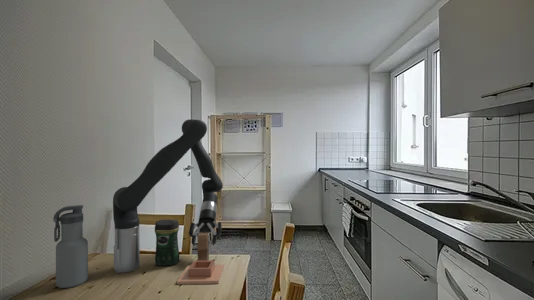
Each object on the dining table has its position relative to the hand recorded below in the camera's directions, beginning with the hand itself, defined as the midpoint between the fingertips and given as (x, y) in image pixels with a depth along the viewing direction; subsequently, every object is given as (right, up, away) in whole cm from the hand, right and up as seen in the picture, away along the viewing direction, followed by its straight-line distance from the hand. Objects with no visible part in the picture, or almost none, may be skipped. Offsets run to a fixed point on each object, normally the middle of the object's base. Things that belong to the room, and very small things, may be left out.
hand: (203, 244), depth 125 cm
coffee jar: (-15, -8, -2) cm, 17 cm away
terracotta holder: (+3, -7, -15) cm, 16 cm away
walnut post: (0, -7, -1) cm, 7 cm away
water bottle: (-44, -8, -20) cm, 49 cm away
